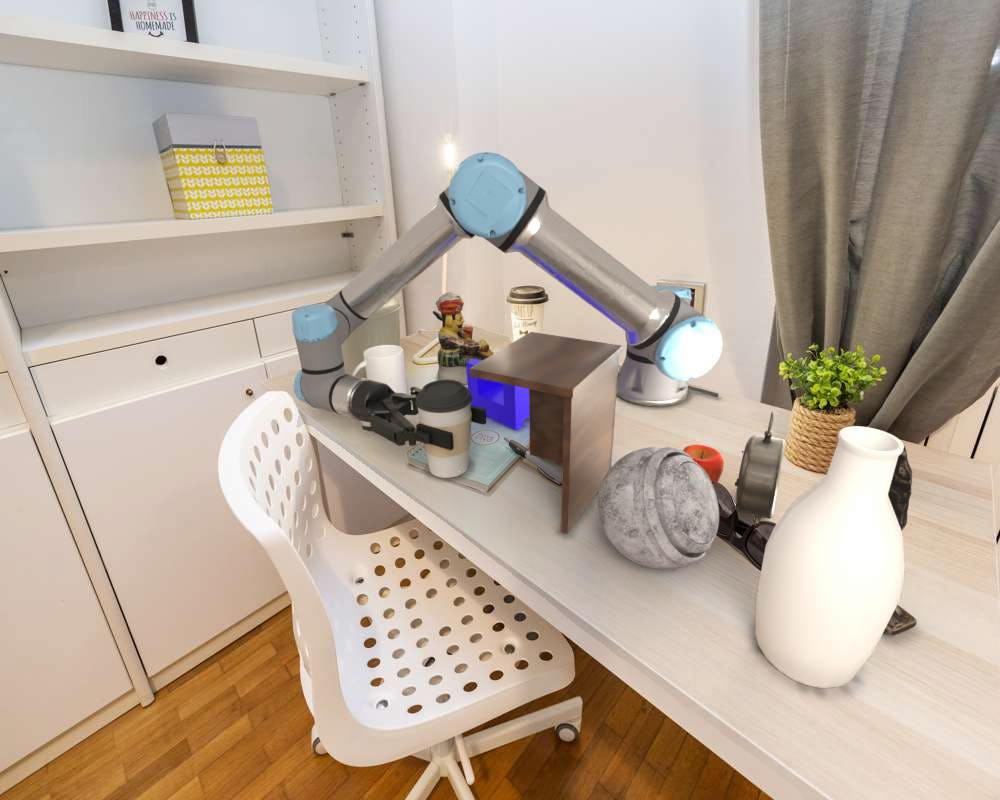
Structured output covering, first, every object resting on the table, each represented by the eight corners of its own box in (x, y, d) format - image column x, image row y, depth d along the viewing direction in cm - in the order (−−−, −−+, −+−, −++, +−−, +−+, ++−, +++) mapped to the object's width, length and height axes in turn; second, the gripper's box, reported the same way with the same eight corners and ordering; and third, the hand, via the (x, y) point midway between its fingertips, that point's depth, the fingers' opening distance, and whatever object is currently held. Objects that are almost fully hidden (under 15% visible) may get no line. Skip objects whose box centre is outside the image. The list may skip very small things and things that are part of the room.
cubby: (477, 504, 78) (469, 368, 68) (531, 451, 91) (530, 331, 82) (568, 536, 71) (573, 389, 61) (612, 473, 84) (622, 345, 75)
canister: (384, 354, 139) (374, 276, 130) (423, 371, 127) (414, 286, 118) (322, 373, 128) (305, 289, 119) (357, 393, 116) (342, 302, 107)
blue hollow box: (515, 430, 98) (514, 380, 94) (469, 409, 107) (466, 362, 103) (583, 395, 111) (585, 350, 107) (536, 379, 120) (536, 336, 116)
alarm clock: (766, 541, 69) (792, 435, 62) (723, 528, 71) (743, 425, 64) (776, 498, 77) (799, 400, 70) (737, 488, 80) (756, 392, 73)
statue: (889, 642, 54) (955, 484, 46) (828, 595, 60) (876, 447, 51) (916, 629, 55) (985, 473, 47) (853, 584, 61) (904, 438, 53)
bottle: (828, 724, 47) (917, 493, 36) (722, 638, 55) (768, 430, 44) (888, 664, 52) (982, 446, 41) (782, 593, 60) (837, 398, 50)
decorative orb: (681, 615, 58) (699, 507, 52) (573, 559, 67) (577, 460, 60) (727, 544, 68) (746, 447, 62) (628, 503, 77) (636, 414, 70)
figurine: (476, 391, 115) (471, 304, 107) (422, 380, 122) (413, 297, 114) (503, 373, 125) (500, 291, 116) (451, 363, 132) (445, 285, 123)
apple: (666, 486, 81) (671, 444, 77) (697, 477, 83) (704, 436, 79) (694, 508, 75) (701, 465, 72) (727, 498, 77) (735, 455, 74)
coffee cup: (412, 475, 85) (402, 393, 79) (438, 448, 93) (431, 371, 86) (461, 486, 82) (455, 401, 75) (484, 457, 89) (480, 378, 83)
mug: (361, 419, 105) (352, 364, 99) (350, 404, 111) (341, 352, 106) (416, 405, 110) (409, 353, 104) (402, 392, 116) (396, 341, 111)
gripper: (406, 396, 102) (504, 421, 91) (322, 444, 86) (429, 482, 75) (402, 361, 99) (503, 383, 88) (313, 404, 82) (424, 437, 72)
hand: (468, 428), depth 81 cm, fingers closed on coffee cup, 9 cm apart
